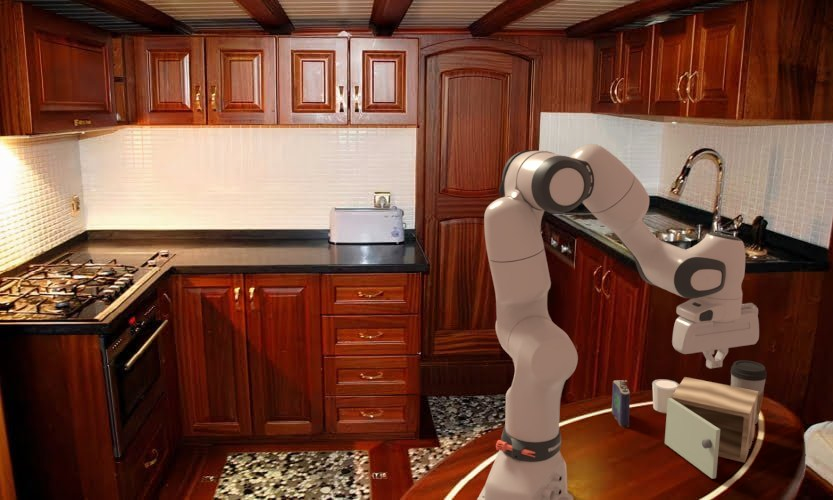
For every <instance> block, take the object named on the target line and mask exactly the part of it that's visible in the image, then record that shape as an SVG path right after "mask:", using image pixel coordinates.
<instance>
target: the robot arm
mask: <svg viewBox="0 0 833 500" xmlns="http://www.w3.org/2000/svg"><path fill="white" fill-rule="evenodd" d="M498 189H499V190H498V191H499V198H497V199H495V200H494V201H491V203H490V204H489V205H488V206H487V207H486V209H485V211H484V215H483V216H484V218H483V220H484V221H483V222H484V223H483V224H484V226H483V227H484V240H485V241H484V242H485V246H486V247H485V248H486V253H487V258H488V263H489V268H490V272H491V273H490V274H491V277H492V278H491V279H492V282H493V287H494V293H495V301H496V302H495V306H496V311H495V312H496V320H495V327H494V328H495V333H496V336H497V339H498V343H499V344H500V346H501V347H502V349H503V350H504V351H505V352H506V353H507V354H508V355H509V357H510V358H511V359H512V362H513V366H514V375H513V379H512V382H511V386H510V387H509V388H508V390H507V391H506V393H505V416H504V417H505V424H504V427H503V430H502V434H501V436H500V437H501V438H500V439H498V440H497V441H496V444H495V449H496V451H498V453H497V454H496V457H495V459H494V462H493V464H492V466H491V469H490V471H489V474H488V476H487V479H486V482H485V484H484V486H483V488H482V489H481V492H480V493H479V496H478V497H477V498H476V500H574V496H573V495H572V494H571V493H570V492H568V472H567V470H568V469H567V468H568V467H567V463H566V460H565V459H564V457H563V455H562V453H561V451H560V450H561V446H562V445H561V443H562V436H561V434H562V433H561V429H560V409H561V398H562V393H563V389H564V387H565V386H564V385H565V383H566V380H568V379H569V378H570V377H571V376H572V375H573V374H574V373H575V371H576V368H577V365H578V360H579V356H578V352H577V349H576V346H575V345H574V343H573V341H572V340H571V338H570V337H569V335H568V334H567V333H566V332H565V331H564V330H563V329H562V328H560V327H559V326H558V325H557V324H555V323H554V322H553V321H552V318H551V316H550V314H549V310H548V294H549V290H550V289H551V285H552V281H551V277H550V272H549V271H550V270H549V266H548V261H547V256H546V255H547V254H546V250H545V244H544V240H543V237H542V233H541V231H542V226H541V225H542V219H543V216H544V213H545V212H548V213H551V214H562V213H567V212H570V211H572V210H574V209H576V208H578V207H579V206H580V205H581V204H582V205H584V207H585V208H586V209H587V210H589V212H590V213H591V214H592V216H594V217H595V218H596V219H597V220H598V221H599V222H600V223H601V224H603V225H604V226H606V227H607V229H609V230H610V231H611V232H612V233H613V234H614V235H615V236H616V237H617V239H618V240H619V241H620V242H621V244H623V246H624V247H625V248H626V250H627V251H628V252H629V253H630V254H631V256H632V257H633V260H634V262H635V265H636V269H637V271H638V274H639V276H640V277H641V279H642V280H643V281H644V282H645V283H647V284H649V285H651V286H655V287H657V288H661V289H662V290H666V291H667V292H669V293H672V294H675V295H676V296H679V297H682V298H684V299H688V300H686V301H685V302H682V303H681V304H679V305H677V306H676V311H675V312H676V314H677V315H678V317H677V318H676V319H675V320H674V321H675V322H674V324H673V325H674V326H673V330H672V338H671V339H672V340H671V343H672V345H671V346H673V348H674V350H675V351H677V352H678V353H681V354H683V355H687V354H688V355H689V354H690V355H691V354H696V353H702V354H703V357H705V359H706V361H705V366H706V368H708V369H715V368H722V367H723V361H724V359H725V357H726V356H727V355H728V353H729V349H730V348H738V347H745V346H751V345H755V344H757V342H758V341H759V338H760V323H759V322H760V321H759V317H758V315H759V308H758V307H757V305H756V304H754V303H753V302H747V303H743V290H742V283H743V280H744V278H745V273H746V272H745V270H746V248H745V243H744V242H743V240H742V239H741V238H739V237H737V236H734V235H731V234H725V233H721V232H715V231H713V232H708V233H706V234H705V236H704V237H703V238H702V240H700V242H698V243H697V244H695V245H692V247H689V248H687V249H685V248H681V247H679V246H676V245H674V244H672V243H670V242H667V241H665V240H663V239H660V238H657V237H656V235H654V233H653V232H652V231H651V229H650V228H649V227H648V226H647V224H646V223H645V222H644V221H643V219H644V218H645V216H646V214H647V212H648V210H649V206H650V196H649V193H648V192H647V190H646V188H645V187H644V185H643V184H642V182H641V181H640V180H639V179H638V178H637V176H636V175H635V174H634V173H633V172H632V171H631V170H630V168H628V167H627V166H626V165H625V164H624V163H623V162H622V160H620V159H619V158H618V157H617V156H615V155H614V154H613V153H612V152H610V151H609V150H607V149H606V148H605V147H603V146H601V145H598V144H595V143H594V144H593V143H590V144H585V145H583V146H581V147H579V148H576V150H575V151H574V152H572V153H571V154H570V155H569V156H566V155H560V154H557V153H555V152H552V151H548V150H535V149H525V150H522V151H519V152H517V153H515V154H514V155H512V156H511V157H510V158H509V159H508V160H507V162H506V163H505V165H504V168H503V170H502V176H501V183H500V186H499V188H498ZM715 351H716V354H715ZM714 354H715V356H713V355H714Z"/></svg>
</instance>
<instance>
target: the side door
mask: <svg viewBox="0 0 833 500" xmlns="http://www.w3.org/2000/svg"><path fill="white" fill-rule="evenodd" d="M665 420H666V421H665V431H664V432H665V433H664V445H666V446H668V447H669V448H670V449H671V450H673V451H674V452H676V453H677V454H678V455H680V456H681V457H682V458H684V459H685V460H686V461H687V462H689V463H690V464H692V465H693V466H694V467H696V468H697V469H698V470H700V471H701V472H702V473H703V474H705V475H706V476H708V477H709V478H710V479H716V478H717V473H718V472H717V471H718V460H719V456H718V451H719V439H720V429H719V428H717V427H716V426H714V425H713V424H711V423H710V422H708V421H706V420H705V419H703V418H702V417H700V416H699V415H697V414H696V413H694V412H692V411H691V410H689V409H688V408H686V407H685V406H683V405H681V404H680V403H678V402H677V401H675V400H674V399H672V398H668V402H667V413H666V419H665Z"/></svg>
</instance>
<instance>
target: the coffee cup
mask: <svg viewBox="0 0 833 500" xmlns="http://www.w3.org/2000/svg"><path fill="white" fill-rule="evenodd" d="M729 373H730V375H731V376H730V377H731V378H730V386H734V387H739V388H744V389H749V390H754V391H759V393H758V403H757V413H756V423H755V424H757V423H758V422H759V417H760V413H761V409H762V403H763V397H764V393H765V389H764V388H765V383H766V379H767V377H768V375H767V374H768V373H767V370H766V367H765V365H764V364H762V363H760V362H756V361H752V360H746V359H745V360H736V361H734V362H733V363H732V365H731V366H730V371H729Z"/></svg>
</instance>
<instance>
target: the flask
mask: <svg viewBox="0 0 833 500" xmlns="http://www.w3.org/2000/svg"><path fill="white" fill-rule="evenodd" d="M626 383H628V381H627V380H626V379H625V380H623V379H622V380H620V379H619V380H618V379H617V380H613V381H612V397H611V398H612V401H611V414H612V415H613V417H614V419H615V420H617V422H618V425H619V426H620V427H622V428H629V427H630V404H631V401H630V400H631V392H630V389H629V387H628V386H627V384H626Z"/></svg>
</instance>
